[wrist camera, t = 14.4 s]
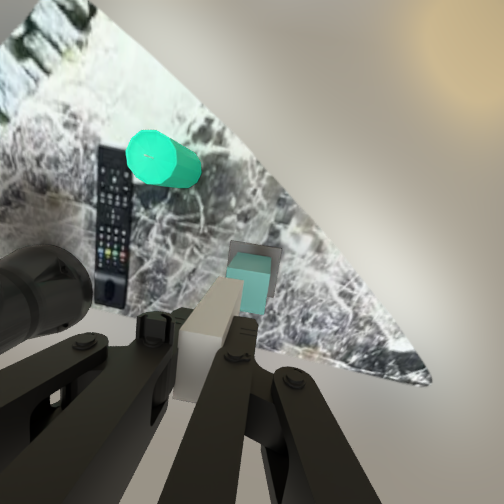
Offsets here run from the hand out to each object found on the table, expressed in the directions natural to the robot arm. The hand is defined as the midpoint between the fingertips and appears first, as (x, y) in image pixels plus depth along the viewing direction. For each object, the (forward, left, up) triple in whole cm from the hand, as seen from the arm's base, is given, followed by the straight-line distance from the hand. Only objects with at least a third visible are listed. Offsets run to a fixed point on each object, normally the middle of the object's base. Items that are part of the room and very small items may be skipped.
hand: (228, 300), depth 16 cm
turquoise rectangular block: (0, -5, -25) cm, 26 cm away
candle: (-13, +9, -27) cm, 31 cm away
